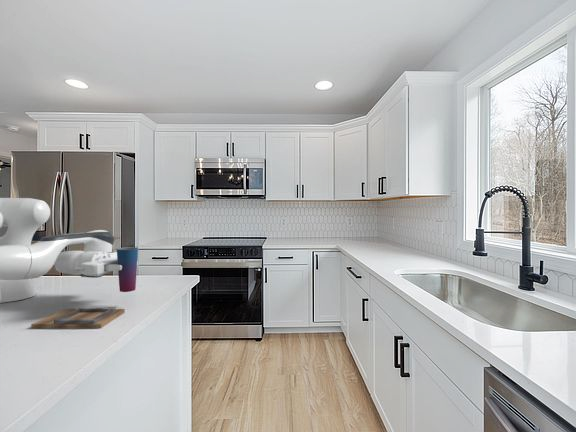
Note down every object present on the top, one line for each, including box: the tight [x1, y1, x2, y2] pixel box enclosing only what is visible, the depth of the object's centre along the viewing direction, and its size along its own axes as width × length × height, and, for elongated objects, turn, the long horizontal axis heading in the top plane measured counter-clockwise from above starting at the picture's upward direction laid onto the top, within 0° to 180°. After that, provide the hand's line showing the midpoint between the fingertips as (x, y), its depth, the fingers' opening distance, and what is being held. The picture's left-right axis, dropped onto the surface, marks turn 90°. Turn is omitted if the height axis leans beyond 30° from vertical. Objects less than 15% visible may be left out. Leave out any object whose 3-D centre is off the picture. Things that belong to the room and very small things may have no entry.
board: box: [30, 307, 126, 329], centre depth 98 cm, size 20×14×2 cm
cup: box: [116, 246, 139, 293], centre depth 112 cm, size 7×7×15 cm
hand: (129, 265), depth 111 cm, fingers closed on cup, 6 cm apart
